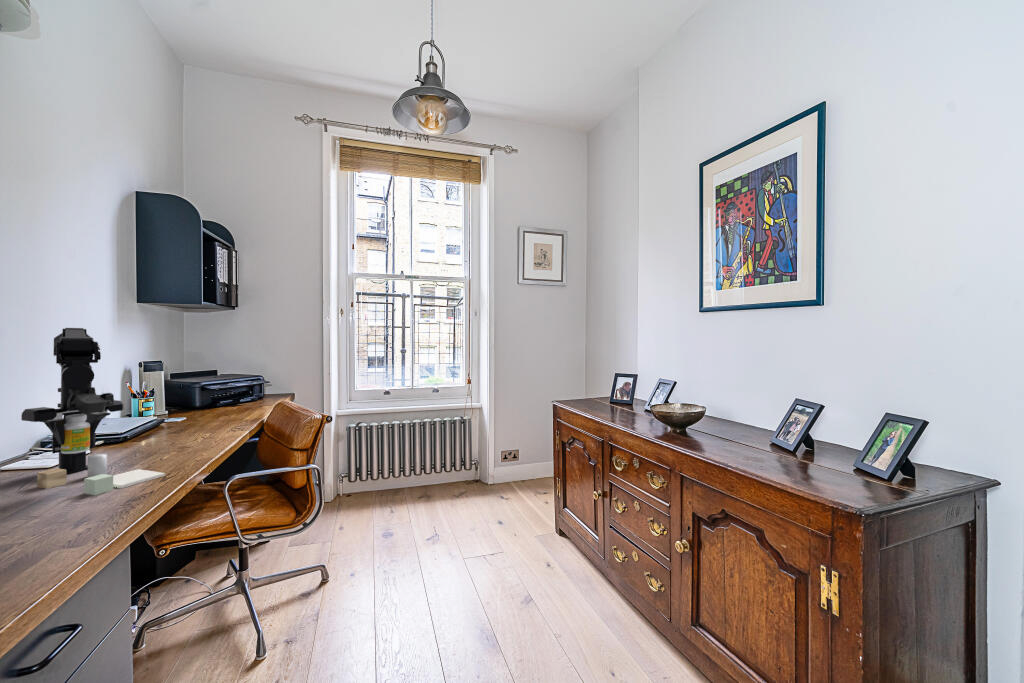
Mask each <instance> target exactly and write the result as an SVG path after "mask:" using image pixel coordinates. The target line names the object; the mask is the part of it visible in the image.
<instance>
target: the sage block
mask: <svg viewBox="0 0 1024 683" xmlns="http://www.w3.org/2000/svg"><path fill="white" fill-rule="evenodd" d="M113 476H114V475H112V474H108V473H107V474H101V475H97V476H93V477H89V478H88V477H86V478H83V479H84V483H83V484H84V485H83V486H84V488H83V490H84V492H83V493H84V495H89V494H90V496H97V495H102V494H104V492H105V493H108V491H109V492H112V491H114V487H113ZM111 490H112V491H111ZM101 493H102V494H101Z"/></svg>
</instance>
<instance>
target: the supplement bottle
mask: <svg viewBox="0 0 1024 683" xmlns="http://www.w3.org/2000/svg"><path fill="white" fill-rule="evenodd" d="M65 419H67V420H66V422H67V423H66V424H64V437H65V440H64V444H63V445H61V453H63V454H73V453H81V452H85V451H86V452H88V451H89V450H90V424H89V423H88V422H86V421H85V420H87V415H86V414H76V415H68V416H65Z"/></svg>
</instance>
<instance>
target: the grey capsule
mask: <svg viewBox="0 0 1024 683" xmlns="http://www.w3.org/2000/svg"><path fill="white" fill-rule="evenodd" d="M87 465H88V469H87V478H89V477H93V476H97V475H101V474H107V475H108V454H107V453H97V454H91V455H89V456H87Z"/></svg>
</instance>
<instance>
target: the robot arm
mask: <svg viewBox="0 0 1024 683" xmlns="http://www.w3.org/2000/svg"><path fill="white" fill-rule="evenodd" d="M101 356H102V355H101V345H99V342H97V341H95V340H94V338H93V336H90V335H89V334H88V333H87V329H86V328H84V327H65V328H62V330H61V333H59V334H58V335H57V336H55V337H53V357H55V360H56V361H55V363H56V364H58V365H59V366H60V367H61V368H60V377H61V378H60V387H57V392H58V393H60V402H59V403H57V408H54V407H46V406H42V407H32V408H25V409H23V411H22V413H21V421H23V422H32V423H37V422H38V423H44V425H45V426H46V427H47V428H48V429H49V431H50V432H51V433H52V452H51V453H52V454H53V455H54V454H57V453H58V468H59V469H65V470H66V475H67V474H71V473H75V472H80V471H85V470H88V464H87V451H85V452H81V453H73V454H63V453H61V445H63V444H64V440H65V437H64V424H66V423H67V422H66V420H67V419H65V416H68V415H76V414H86V415H87V420H85V421H86V422H88V423H89V424H90V449H91V450H92V449H93V448H96V435H97V434H96V431H97V428H98V427H99V424H100V423H101V422H102V420H104V418H106V417H107V416H110V415H111V413H113V412H121V411H124V403H123V402H122V401H121V400H116V399H115V398H114V394H113V393H112V392H105V393H102V394H97V393H96V388H95V386H94V387H93V386H92V382H93V381H94V379H95V373H94V370H93V367H92V365H91V364H92V363H93V364H97V363H99V361H100V360H101ZM108 411H109V412H108ZM90 449H89V450H90Z"/></svg>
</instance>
